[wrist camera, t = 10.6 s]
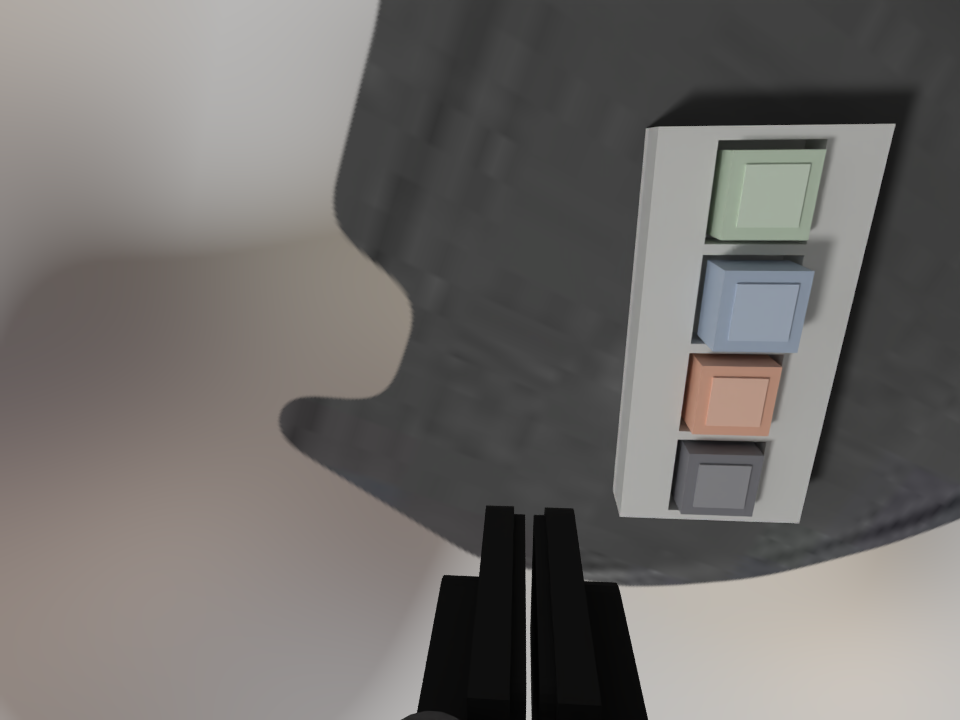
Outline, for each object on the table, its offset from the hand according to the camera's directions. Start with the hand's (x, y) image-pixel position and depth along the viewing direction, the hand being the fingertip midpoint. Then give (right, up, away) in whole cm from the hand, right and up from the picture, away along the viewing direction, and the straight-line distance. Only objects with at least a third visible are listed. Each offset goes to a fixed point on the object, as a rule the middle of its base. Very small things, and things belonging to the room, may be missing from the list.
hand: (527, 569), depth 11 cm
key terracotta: (+15, +3, +26) cm, 30 cm away
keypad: (+15, +6, +26) cm, 30 cm away
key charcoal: (+15, -3, +28) cm, 32 cm away
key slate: (+15, +8, +22) cm, 28 cm away
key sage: (+15, +14, +21) cm, 29 cm away
